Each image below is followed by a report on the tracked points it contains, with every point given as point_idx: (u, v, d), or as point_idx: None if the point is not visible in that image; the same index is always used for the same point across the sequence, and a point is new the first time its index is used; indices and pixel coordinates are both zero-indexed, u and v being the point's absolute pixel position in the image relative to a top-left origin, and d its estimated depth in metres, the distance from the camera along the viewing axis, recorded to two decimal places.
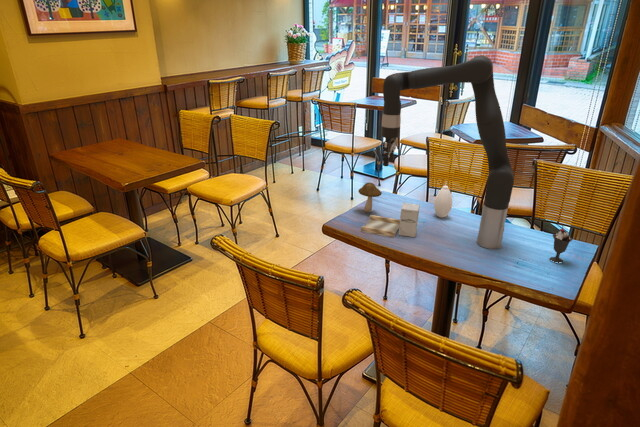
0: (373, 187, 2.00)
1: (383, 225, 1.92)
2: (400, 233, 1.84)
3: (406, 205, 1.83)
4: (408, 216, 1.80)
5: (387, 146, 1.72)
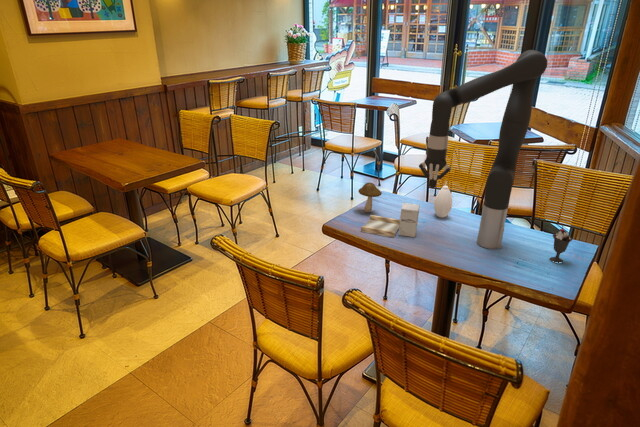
0: (373, 187, 2.00)
1: (383, 225, 1.92)
2: (400, 233, 1.84)
3: (406, 205, 1.83)
4: (408, 216, 1.80)
5: None
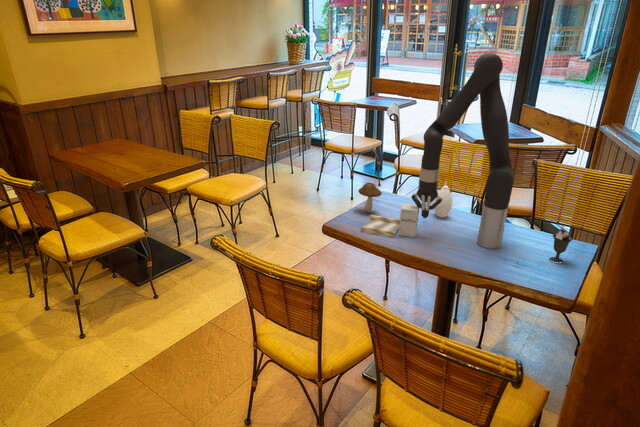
0: (373, 187, 2.00)
1: (383, 225, 1.92)
2: (400, 233, 1.84)
3: (406, 204, 1.83)
4: (407, 216, 1.80)
5: None
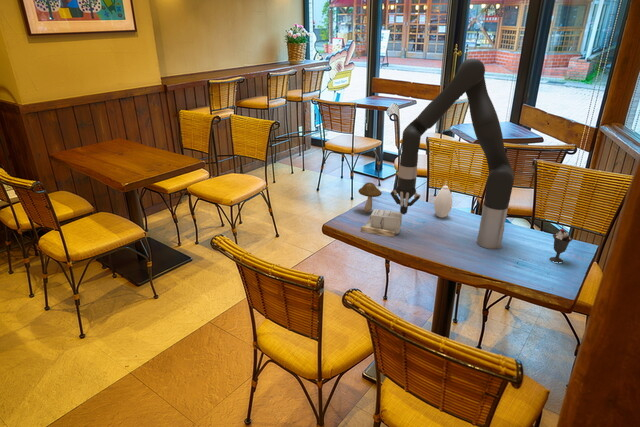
0: (373, 187, 2.00)
1: None
2: (396, 231, 1.84)
3: None
4: (377, 224, 1.86)
5: None
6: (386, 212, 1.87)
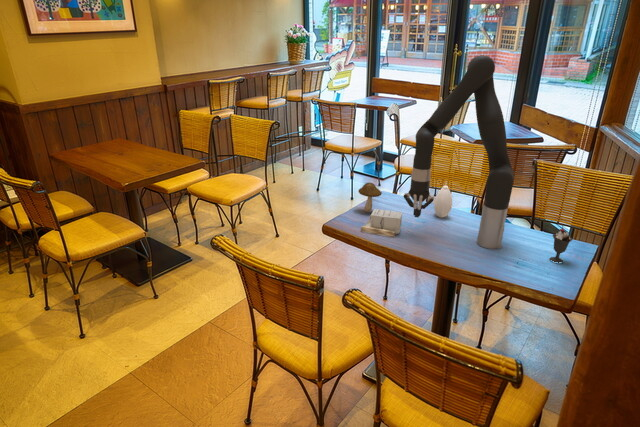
0: (373, 187, 2.00)
1: None
2: (396, 231, 1.84)
3: None
4: (377, 224, 1.86)
5: None
6: (386, 212, 1.87)
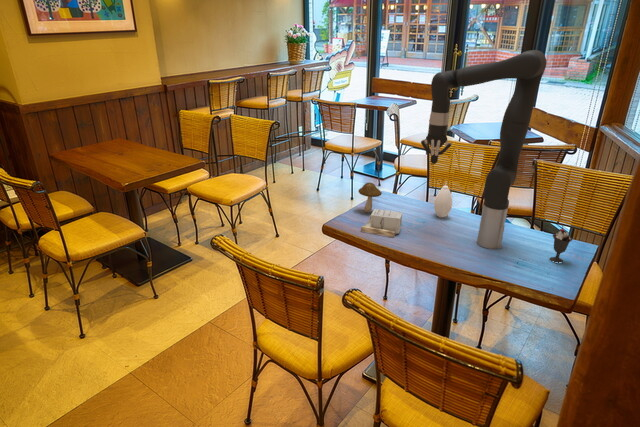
0: (373, 187, 2.00)
1: None
2: (396, 231, 1.84)
3: None
4: (377, 224, 1.86)
5: None
6: (386, 212, 1.87)
